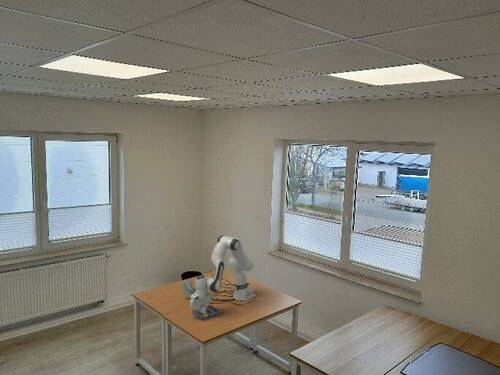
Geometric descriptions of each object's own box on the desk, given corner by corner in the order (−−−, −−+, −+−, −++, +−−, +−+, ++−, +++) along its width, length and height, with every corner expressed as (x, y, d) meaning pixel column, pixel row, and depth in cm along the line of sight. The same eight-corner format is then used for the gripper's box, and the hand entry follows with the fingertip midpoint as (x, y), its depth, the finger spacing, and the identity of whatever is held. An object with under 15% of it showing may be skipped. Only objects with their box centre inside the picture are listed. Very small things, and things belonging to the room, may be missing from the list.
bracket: (209, 303, 361) (209, 282, 359) (206, 306, 355) (205, 285, 352) (184, 298, 372) (184, 278, 369) (180, 301, 365) (180, 280, 363)
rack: (210, 308, 350) (210, 304, 349) (221, 314, 337) (221, 310, 336) (192, 314, 338) (192, 309, 338) (202, 321, 325) (202, 316, 324)
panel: (198, 310, 338) (198, 302, 338) (205, 314, 329) (205, 307, 328) (196, 310, 337) (196, 303, 336) (203, 315, 328) (203, 307, 327)
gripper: (209, 290, 340) (209, 305, 342) (188, 296, 327) (188, 311, 329) (212, 292, 335) (213, 308, 337) (192, 298, 322) (192, 314, 324)
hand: (200, 310), depth 333 cm, fingers closed on panel, 2 cm apart
